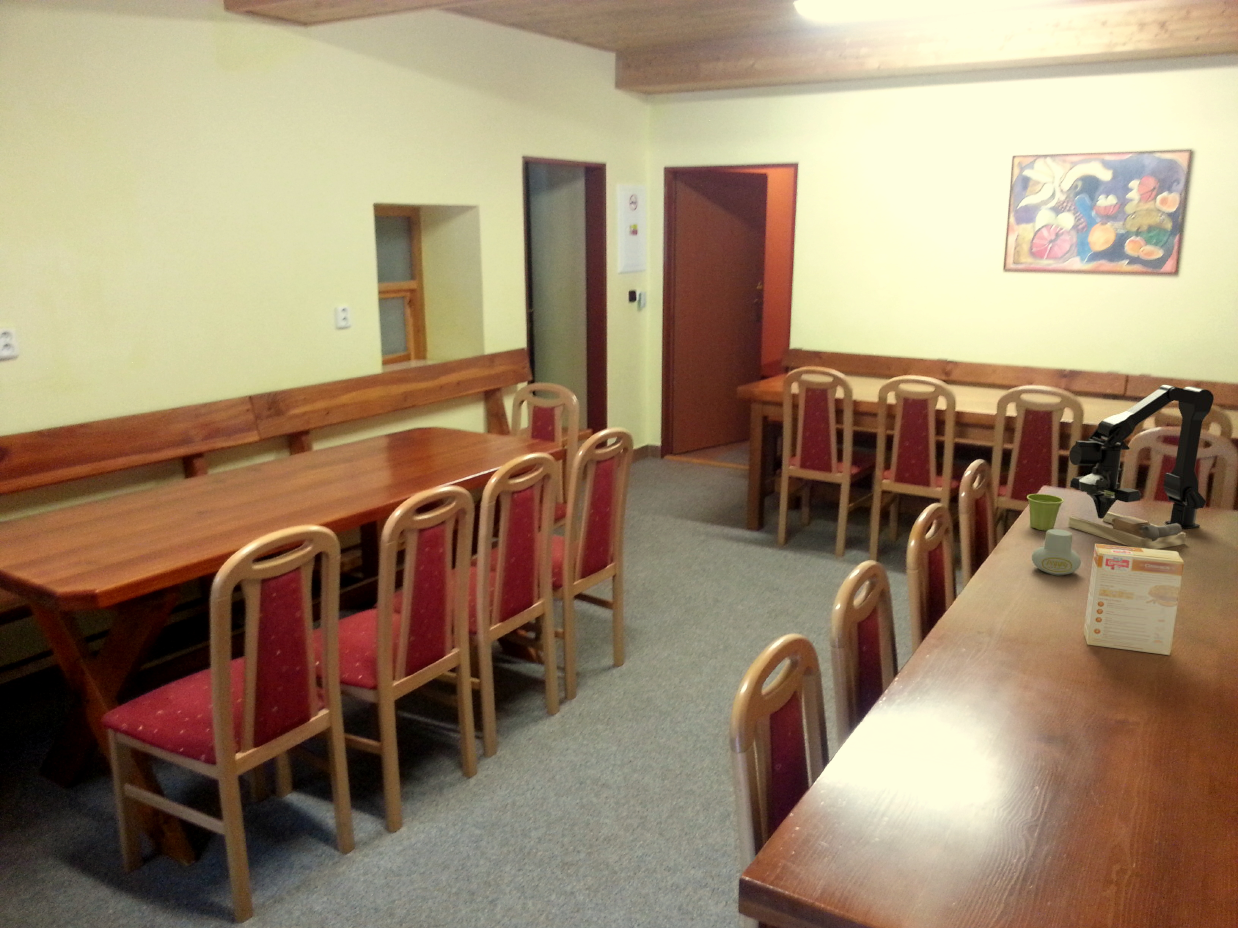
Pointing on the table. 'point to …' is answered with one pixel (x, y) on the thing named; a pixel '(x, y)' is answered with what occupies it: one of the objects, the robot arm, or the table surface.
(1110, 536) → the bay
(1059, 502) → the plant pot
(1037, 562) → the air freshener
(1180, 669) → the table surface
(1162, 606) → the coffeecake box
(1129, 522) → the box
